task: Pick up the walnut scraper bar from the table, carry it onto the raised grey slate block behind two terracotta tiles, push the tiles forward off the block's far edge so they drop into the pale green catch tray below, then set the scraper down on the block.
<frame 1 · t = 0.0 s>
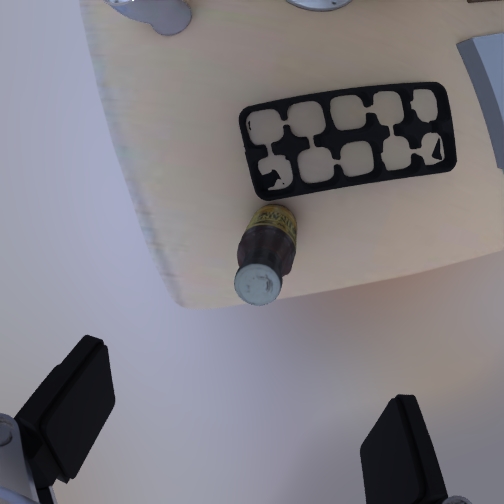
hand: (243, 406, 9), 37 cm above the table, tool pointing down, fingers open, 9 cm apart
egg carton: (351, 135, 41), on the table
sauce bottle: (273, 222, 46), on the table
beer glass: (172, 18, 36), on the table
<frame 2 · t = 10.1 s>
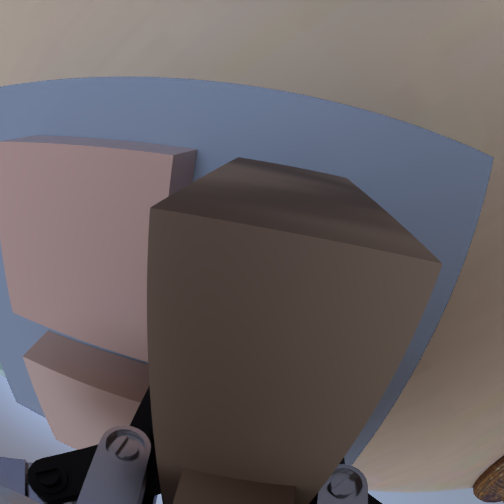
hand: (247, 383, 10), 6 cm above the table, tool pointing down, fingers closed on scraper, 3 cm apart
scraper: (252, 367, 11), point 5 cm above the table, touching gripper
tile b: (111, 398, 13), point 5 cm above the table
tile a: (99, 230, 10), point 5 cm above the table, touching gripper
board: (184, 283, 16), on the table
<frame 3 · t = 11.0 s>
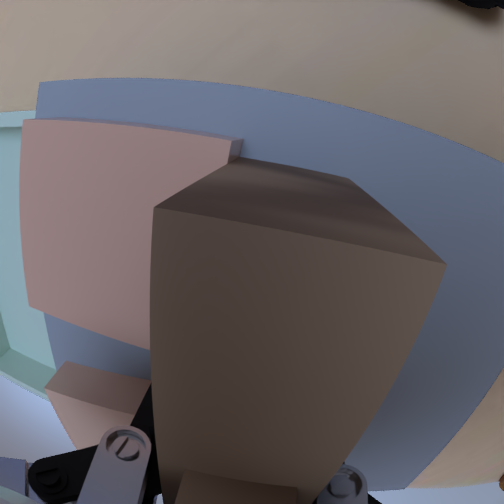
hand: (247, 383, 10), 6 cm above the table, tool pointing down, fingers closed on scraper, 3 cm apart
scraper: (252, 368, 11), point 5 cm above the table, touching board, gripper, tile a
tray: (33, 261, 17), on the table
tile b: (135, 419, 13), point 5 cm above the table, touching board
tile a: (130, 220, 10), point 5 cm above the table, touching gripper, scraper
board: (283, 305, 16), on the table
when the fingers open (6 cm above the table, at t = 15.0 s): scraper stays where it is, resting on board.
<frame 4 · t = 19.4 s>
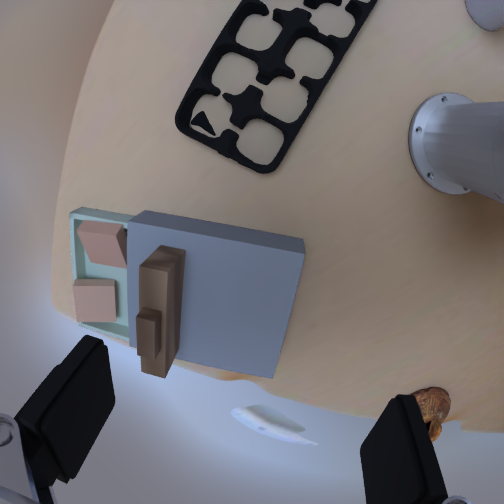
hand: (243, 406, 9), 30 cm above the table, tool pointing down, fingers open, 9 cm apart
scraper: (169, 301, 38), point 5 cm above the table, touching board
tray: (111, 272, 43), on the table
tile b: (95, 304, 41), point 4 cm above the table, tilted 154°, touching tray
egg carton: (283, 47, 32), on the table
bell: (420, 407, 48), on the table
tile a: (108, 239, 40), point 2 cm above the table, tilted 26°, touching tray
board: (212, 288, 43), on the table
beer glass: (482, 11, 25), on the table
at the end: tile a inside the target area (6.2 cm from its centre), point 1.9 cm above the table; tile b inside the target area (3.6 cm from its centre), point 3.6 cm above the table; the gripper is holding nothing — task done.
